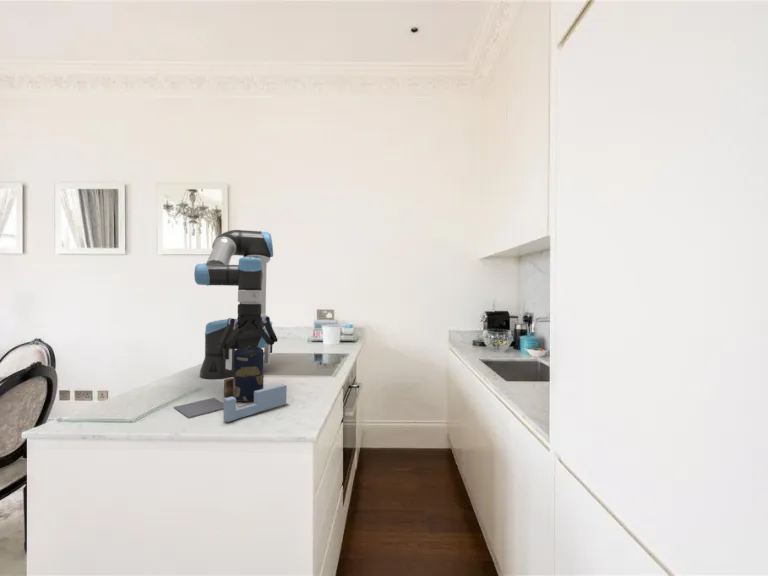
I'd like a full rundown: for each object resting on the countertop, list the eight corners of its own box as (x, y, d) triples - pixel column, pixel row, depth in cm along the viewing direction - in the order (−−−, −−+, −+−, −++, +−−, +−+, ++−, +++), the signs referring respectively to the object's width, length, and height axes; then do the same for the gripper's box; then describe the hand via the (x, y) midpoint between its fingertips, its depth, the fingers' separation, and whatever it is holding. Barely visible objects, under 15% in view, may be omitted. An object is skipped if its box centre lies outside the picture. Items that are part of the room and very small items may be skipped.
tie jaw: (223, 419, 96) (223, 398, 96) (282, 402, 110) (283, 384, 110) (227, 422, 94) (227, 400, 94) (287, 404, 109) (287, 385, 109)
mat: (173, 408, 105) (173, 406, 105) (213, 398, 114) (213, 397, 114) (188, 418, 97) (188, 417, 97) (230, 407, 106) (230, 406, 106)
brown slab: (220, 397, 115) (221, 380, 115) (254, 390, 124) (254, 373, 124) (254, 415, 101) (254, 395, 101) (289, 405, 110) (289, 386, 110)
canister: (267, 394, 119) (268, 343, 119) (255, 404, 110) (256, 348, 110) (242, 393, 120) (242, 342, 120) (227, 402, 111) (227, 347, 111)
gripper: (216, 304, 103) (215, 374, 103) (288, 302, 122) (287, 361, 122) (206, 303, 108) (205, 370, 108) (276, 302, 127) (275, 359, 127)
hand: (248, 366), depth 115 cm, fingers open, 13 cm apart
